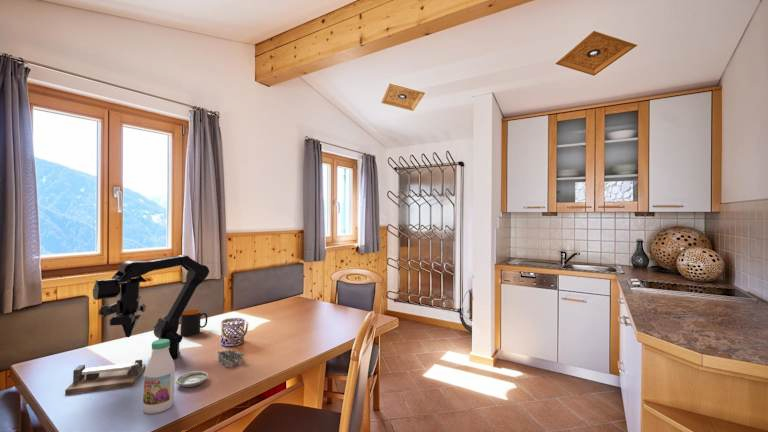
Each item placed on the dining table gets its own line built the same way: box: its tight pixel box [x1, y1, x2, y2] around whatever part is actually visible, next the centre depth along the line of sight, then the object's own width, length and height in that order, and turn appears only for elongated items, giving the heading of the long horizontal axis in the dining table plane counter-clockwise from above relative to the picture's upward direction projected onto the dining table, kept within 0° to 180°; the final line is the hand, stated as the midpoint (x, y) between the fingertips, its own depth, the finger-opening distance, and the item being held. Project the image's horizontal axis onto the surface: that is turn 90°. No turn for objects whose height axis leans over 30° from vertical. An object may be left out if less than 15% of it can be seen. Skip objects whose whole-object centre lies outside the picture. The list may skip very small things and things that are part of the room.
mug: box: [179, 309, 208, 338], centre depth 164 cm, size 8×12×10 cm
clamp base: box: [64, 359, 147, 395], centre depth 116 cm, size 18×14×6 cm
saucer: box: [175, 370, 209, 388], centre depth 116 cm, size 10×10×2 cm
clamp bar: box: [82, 362, 140, 375], centre depth 116 cm, size 16×3×1 cm, turn 112°
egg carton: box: [217, 349, 245, 368], centre depth 134 cm, size 11×8×4 cm
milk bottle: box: [142, 339, 176, 415], centre depth 101 cm, size 8×8×20 cm
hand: (128, 336), depth 125 cm, fingers closed
